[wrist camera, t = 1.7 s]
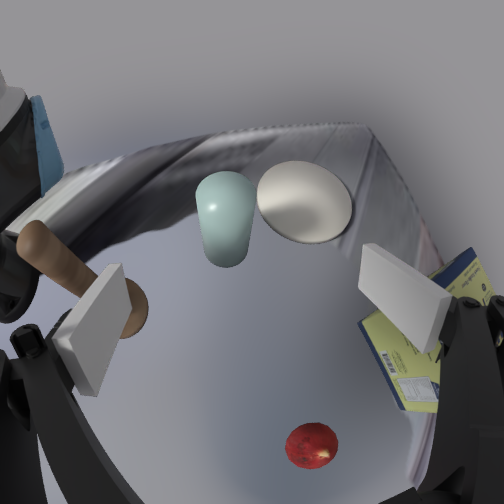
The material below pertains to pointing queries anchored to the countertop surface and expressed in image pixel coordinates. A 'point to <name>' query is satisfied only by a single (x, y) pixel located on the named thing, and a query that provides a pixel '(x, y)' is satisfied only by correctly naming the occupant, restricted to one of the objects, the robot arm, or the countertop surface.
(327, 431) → the red fruit
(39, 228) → the walnut post
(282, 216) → the cream plate
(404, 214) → the countertop surface
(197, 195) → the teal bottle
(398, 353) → the protein box
